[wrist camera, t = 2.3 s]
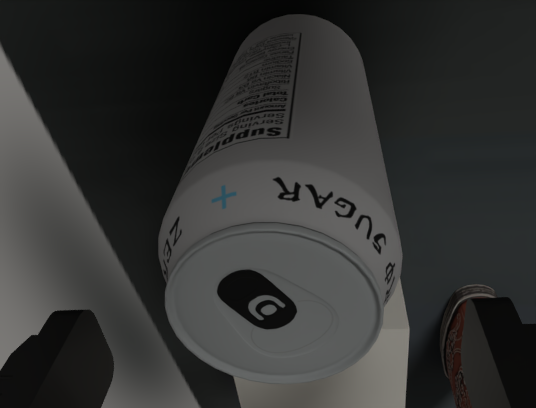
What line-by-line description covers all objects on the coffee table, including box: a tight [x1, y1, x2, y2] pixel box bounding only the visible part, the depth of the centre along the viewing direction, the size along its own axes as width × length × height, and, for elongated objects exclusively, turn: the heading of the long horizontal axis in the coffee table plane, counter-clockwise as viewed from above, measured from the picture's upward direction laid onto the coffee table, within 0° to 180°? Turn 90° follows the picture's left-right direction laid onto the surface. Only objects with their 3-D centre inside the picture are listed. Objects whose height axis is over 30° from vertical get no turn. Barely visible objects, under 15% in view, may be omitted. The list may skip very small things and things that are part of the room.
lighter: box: [440, 284, 498, 408], centre depth 28 cm, size 8×3×10 cm, turn 6°
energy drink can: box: [158, 14, 403, 384], centre depth 17 cm, size 6×6×15 cm
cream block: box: [234, 277, 409, 408], centre depth 24 cm, size 8×8×4 cm
